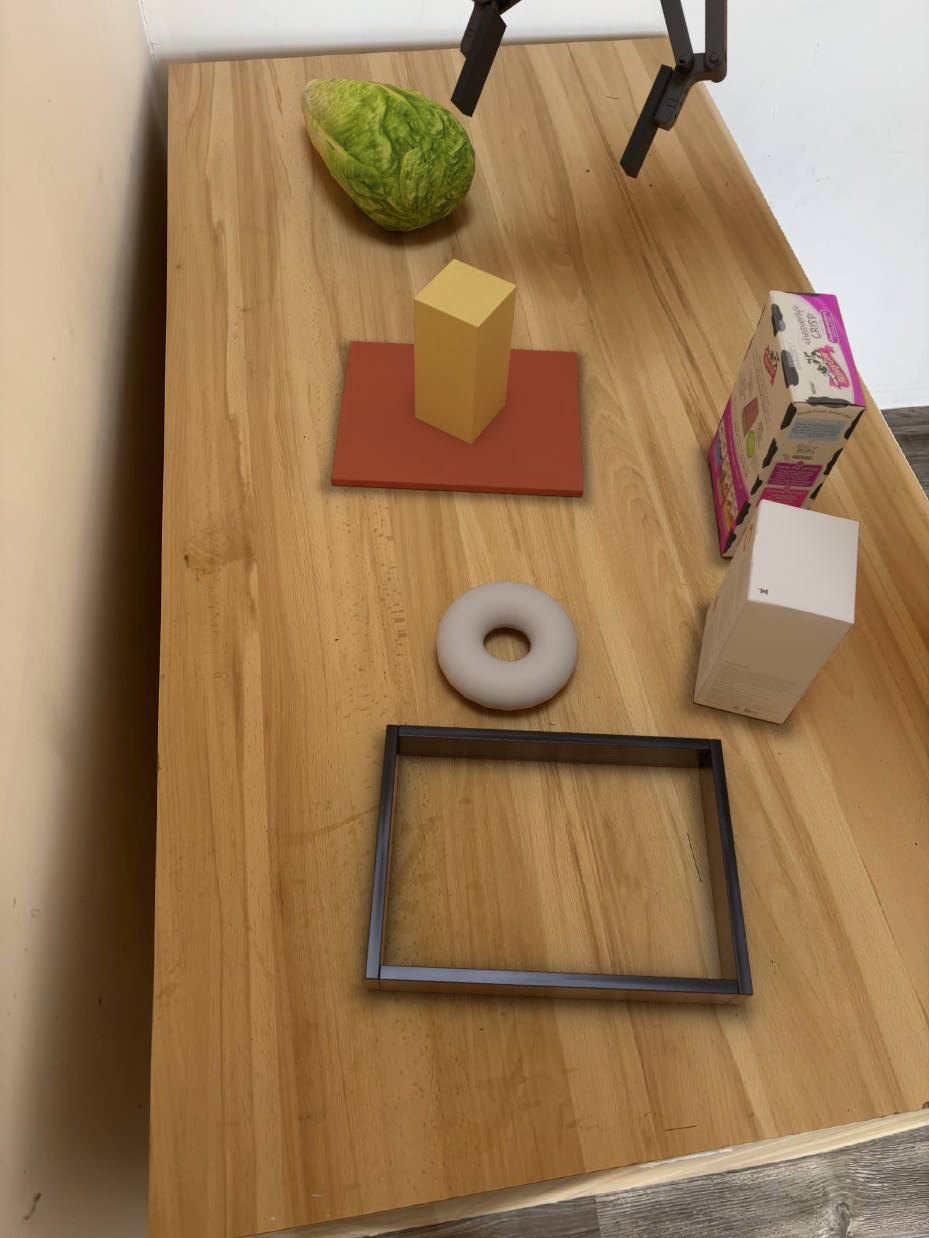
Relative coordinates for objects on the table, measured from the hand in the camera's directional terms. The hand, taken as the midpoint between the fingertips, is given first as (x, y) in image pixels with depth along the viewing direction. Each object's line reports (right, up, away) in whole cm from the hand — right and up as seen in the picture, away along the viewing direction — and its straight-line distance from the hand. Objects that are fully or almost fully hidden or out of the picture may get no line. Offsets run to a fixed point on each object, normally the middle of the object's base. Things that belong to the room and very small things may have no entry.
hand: (542, 140), depth 66 cm
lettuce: (-15, +11, +30) cm, 35 cm away
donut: (-3, -37, 0) cm, 37 cm away
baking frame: (0, -50, -8) cm, 50 cm away
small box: (+14, -38, 0) cm, 40 cm away
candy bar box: (+17, -25, +8) cm, 31 cm away
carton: (-6, -17, +12) cm, 21 cm away
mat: (-6, -17, +12) cm, 22 cm away
